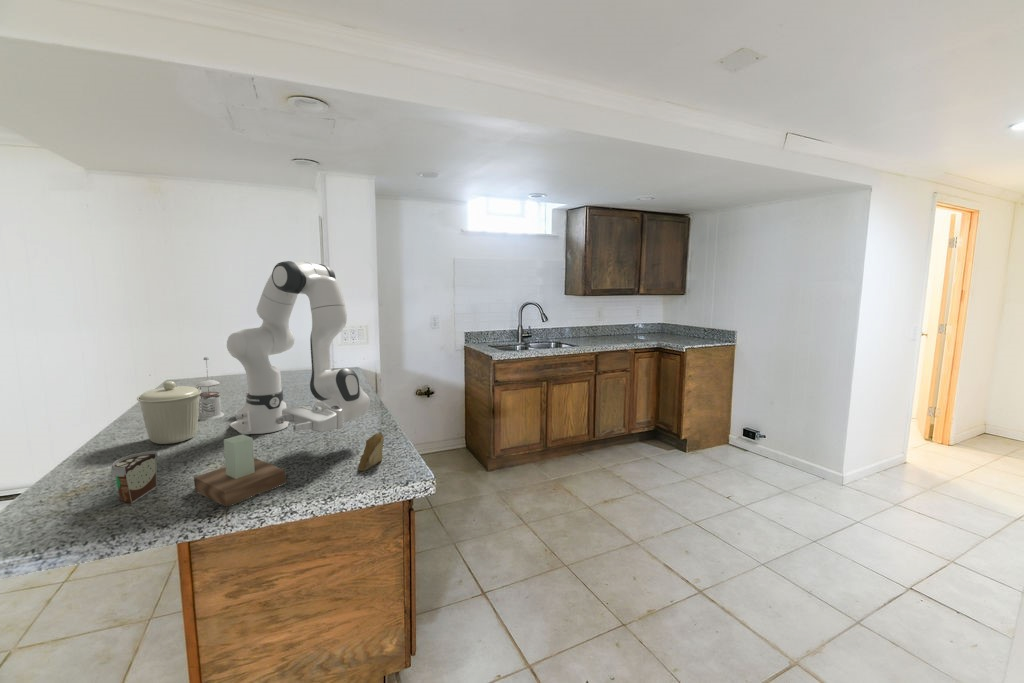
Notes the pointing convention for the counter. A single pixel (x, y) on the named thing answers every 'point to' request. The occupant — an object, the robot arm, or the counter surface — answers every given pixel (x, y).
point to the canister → (170, 413)
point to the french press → (209, 400)
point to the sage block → (239, 456)
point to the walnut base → (239, 483)
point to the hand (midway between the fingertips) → (285, 424)
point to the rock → (372, 452)
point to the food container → (135, 475)
